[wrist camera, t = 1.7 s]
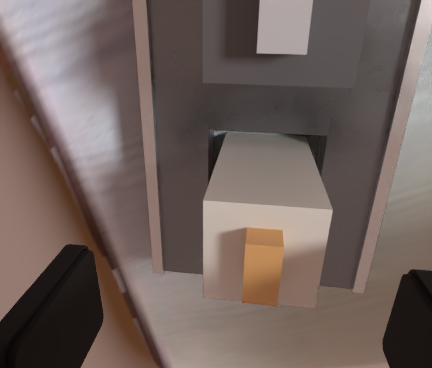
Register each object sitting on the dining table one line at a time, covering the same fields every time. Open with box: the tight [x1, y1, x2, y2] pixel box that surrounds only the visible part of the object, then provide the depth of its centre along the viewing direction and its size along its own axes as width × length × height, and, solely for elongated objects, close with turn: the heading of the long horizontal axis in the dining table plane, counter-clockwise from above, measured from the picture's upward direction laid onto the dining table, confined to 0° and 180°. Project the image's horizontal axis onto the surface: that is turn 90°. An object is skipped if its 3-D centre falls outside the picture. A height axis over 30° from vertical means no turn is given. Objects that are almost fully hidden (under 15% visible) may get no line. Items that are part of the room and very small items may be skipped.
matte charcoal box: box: [203, 0, 370, 88], centre depth 12 cm, size 4×4×9 cm
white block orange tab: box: [203, 133, 333, 309], centre depth 15 cm, size 4×4×9 cm
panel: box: [132, 0, 432, 293], centre depth 15 cm, size 12×28×2 cm, turn 179°
